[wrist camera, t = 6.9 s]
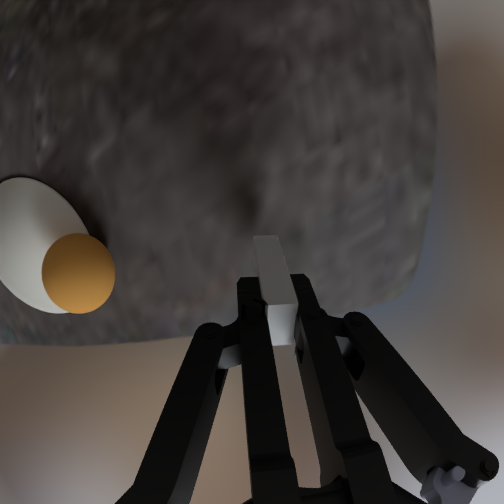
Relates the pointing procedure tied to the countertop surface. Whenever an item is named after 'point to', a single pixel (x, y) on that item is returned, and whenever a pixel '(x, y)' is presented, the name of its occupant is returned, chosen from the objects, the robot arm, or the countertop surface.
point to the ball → (78, 273)
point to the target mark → (31, 236)
